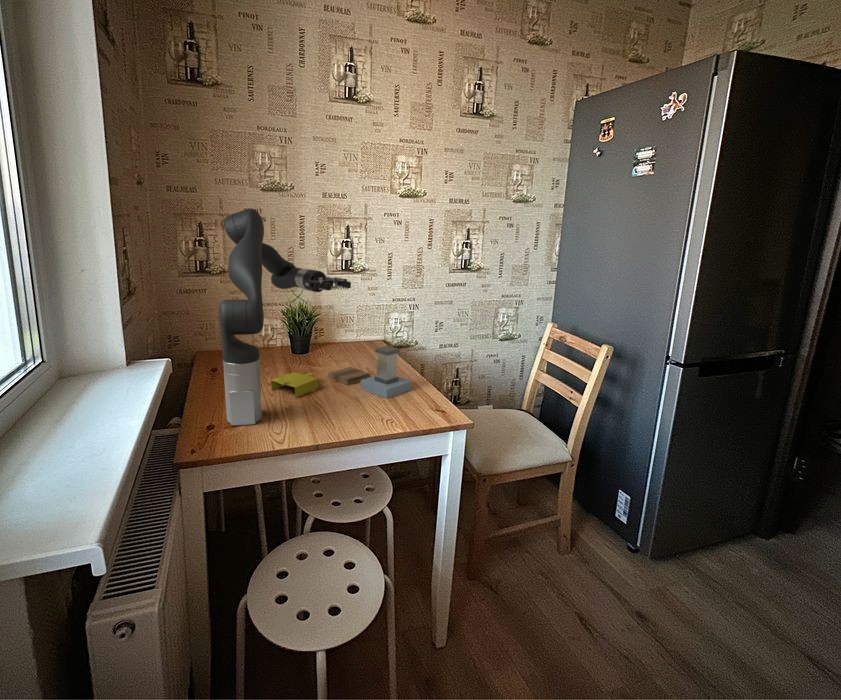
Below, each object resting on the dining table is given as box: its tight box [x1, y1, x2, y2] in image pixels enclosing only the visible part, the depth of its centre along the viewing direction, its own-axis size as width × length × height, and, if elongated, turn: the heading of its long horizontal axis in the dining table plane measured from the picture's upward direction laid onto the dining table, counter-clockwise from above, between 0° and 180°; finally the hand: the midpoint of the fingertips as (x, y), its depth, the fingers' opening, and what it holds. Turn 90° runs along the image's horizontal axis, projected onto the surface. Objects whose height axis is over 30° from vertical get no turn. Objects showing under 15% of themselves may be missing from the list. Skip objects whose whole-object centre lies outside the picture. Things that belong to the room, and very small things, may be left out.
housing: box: [374, 344, 401, 385], centre depth 160 cm, size 6×6×11 cm
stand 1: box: [328, 366, 371, 386], centre depth 171 cm, size 10×10×2 cm
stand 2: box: [360, 374, 413, 400], centre depth 162 cm, size 12×12×3 cm
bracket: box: [270, 371, 319, 398], centre depth 159 cm, size 16×8×15 cm
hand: (340, 286), depth 164 cm, fingers open, 8 cm apart
